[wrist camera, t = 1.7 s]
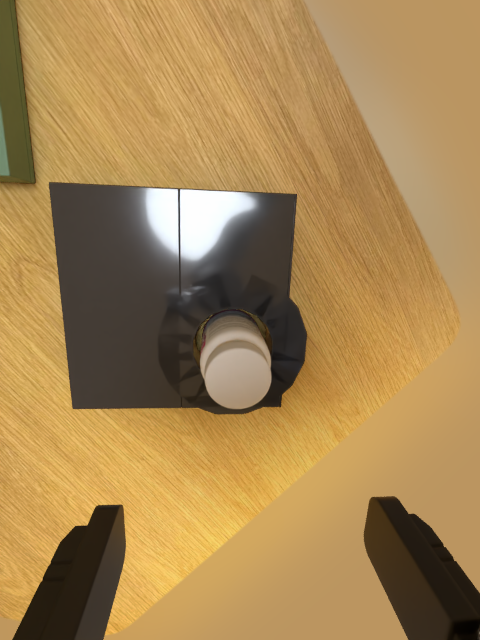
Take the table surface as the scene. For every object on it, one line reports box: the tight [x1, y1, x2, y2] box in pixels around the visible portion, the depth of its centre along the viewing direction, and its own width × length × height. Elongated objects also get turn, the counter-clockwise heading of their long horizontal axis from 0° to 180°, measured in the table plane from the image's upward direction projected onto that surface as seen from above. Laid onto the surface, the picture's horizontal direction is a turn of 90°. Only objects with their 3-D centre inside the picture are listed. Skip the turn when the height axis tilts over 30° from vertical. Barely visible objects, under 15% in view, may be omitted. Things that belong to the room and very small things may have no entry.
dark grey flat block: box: [49, 182, 307, 414], centre depth 25 cm, size 18×17×3 cm
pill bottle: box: [200, 309, 271, 409], centre depth 23 cm, size 5×5×8 cm
